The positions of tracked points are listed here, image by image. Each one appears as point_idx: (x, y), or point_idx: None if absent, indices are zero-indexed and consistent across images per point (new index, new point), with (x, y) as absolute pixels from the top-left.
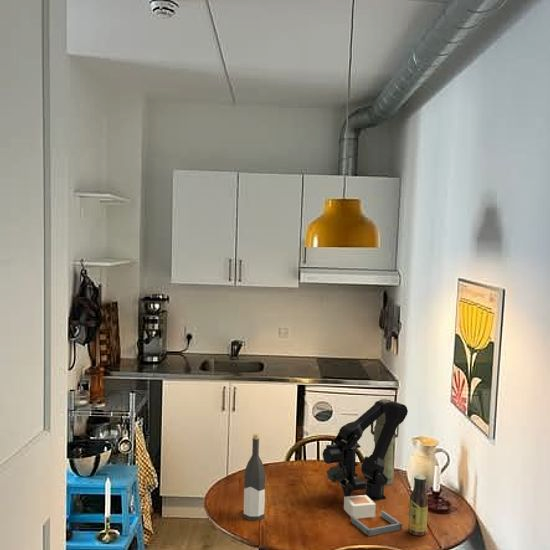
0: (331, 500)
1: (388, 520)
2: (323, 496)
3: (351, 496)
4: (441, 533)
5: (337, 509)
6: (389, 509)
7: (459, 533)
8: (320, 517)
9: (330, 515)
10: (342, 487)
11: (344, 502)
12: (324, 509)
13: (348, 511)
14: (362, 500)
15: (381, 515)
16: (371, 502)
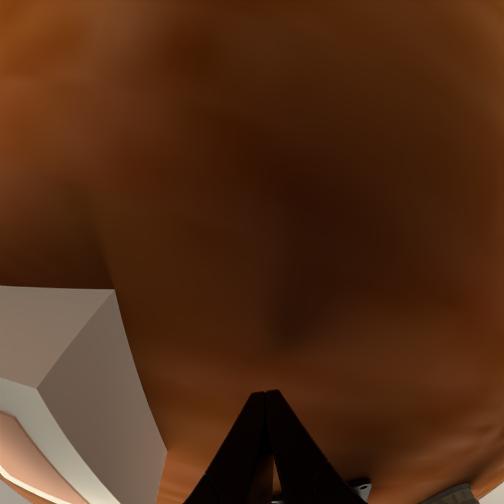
0: (385, 226)
1: None
2: (488, 177)
3: (74, 459)
4: None
5: (108, 213)
6: None
7: (27, 498)
8: (5, 15)
9: (5, 102)
10: (335, 499)
11: (65, 335)
12: (132, 47)
13: (5, 299)
14: (15, 465)
15: None
16: (17, 480)
